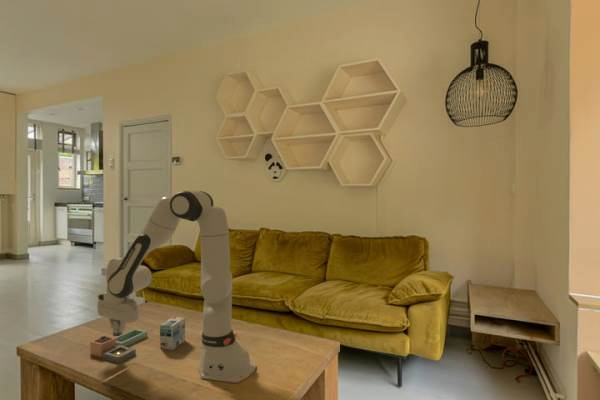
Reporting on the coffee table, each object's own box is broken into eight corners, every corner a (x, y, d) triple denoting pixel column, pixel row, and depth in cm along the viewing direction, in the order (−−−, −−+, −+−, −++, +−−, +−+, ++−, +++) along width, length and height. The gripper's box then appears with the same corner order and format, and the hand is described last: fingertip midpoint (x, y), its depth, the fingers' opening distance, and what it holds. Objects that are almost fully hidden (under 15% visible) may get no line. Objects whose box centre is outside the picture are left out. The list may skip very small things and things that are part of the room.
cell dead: (109, 350, 144) (109, 336, 144) (102, 354, 141) (102, 339, 141) (104, 349, 145) (104, 334, 145) (96, 352, 142) (96, 337, 142)
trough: (147, 338, 159) (147, 331, 159) (121, 350, 146) (121, 343, 146) (135, 335, 162) (135, 328, 162) (108, 347, 149) (108, 340, 149)
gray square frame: (135, 356, 141) (135, 349, 141) (118, 365, 134) (118, 357, 134) (119, 351, 145) (119, 344, 145) (101, 360, 138) (101, 352, 138)
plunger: (127, 353, 141) (127, 351, 141) (117, 358, 136) (117, 356, 136) (119, 351, 142) (119, 349, 142) (110, 356, 138) (110, 354, 138)
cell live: (124, 333, 140) (124, 318, 140) (116, 336, 137) (117, 321, 137) (118, 332, 141) (118, 317, 141) (111, 335, 138) (111, 319, 138)
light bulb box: (172, 350, 146) (172, 326, 146) (159, 349, 148) (159, 324, 148) (185, 340, 157) (185, 317, 157) (173, 338, 158) (173, 316, 158)
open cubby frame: (116, 351, 145) (116, 338, 145) (101, 358, 139) (101, 344, 139) (105, 348, 148) (105, 335, 148) (90, 355, 141) (90, 341, 141)
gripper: (142, 297, 138) (142, 330, 138) (108, 291, 146) (108, 322, 146) (129, 302, 132) (128, 336, 132) (94, 294, 140) (94, 327, 140)
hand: (117, 329), depth 139 cm, fingers closed on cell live, 3 cm apart
